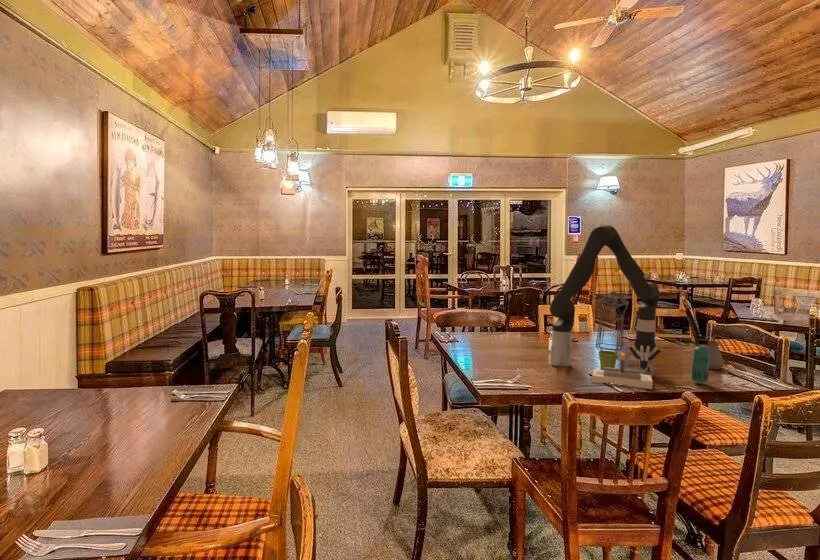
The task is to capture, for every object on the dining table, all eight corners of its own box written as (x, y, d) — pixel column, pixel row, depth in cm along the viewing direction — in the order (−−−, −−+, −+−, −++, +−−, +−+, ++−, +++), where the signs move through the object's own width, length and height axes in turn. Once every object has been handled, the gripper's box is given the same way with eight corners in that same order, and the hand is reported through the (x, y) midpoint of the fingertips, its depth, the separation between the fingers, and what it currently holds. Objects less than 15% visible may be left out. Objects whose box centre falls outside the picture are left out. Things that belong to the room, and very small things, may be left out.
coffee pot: (716, 364, 258) (718, 335, 257) (729, 370, 247) (731, 340, 246) (673, 363, 260) (675, 334, 258) (684, 369, 248) (686, 339, 247)
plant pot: (621, 370, 244) (622, 352, 244) (613, 374, 238) (613, 355, 237) (602, 366, 251) (603, 349, 250) (593, 370, 244) (594, 352, 244)
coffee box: (634, 370, 245) (636, 337, 244) (648, 371, 244) (650, 338, 243) (638, 375, 236) (640, 341, 235) (653, 376, 235) (655, 342, 234)
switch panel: (592, 382, 223) (592, 371, 223) (593, 375, 235) (593, 364, 234) (652, 389, 215) (652, 377, 214) (650, 381, 226) (651, 370, 225)
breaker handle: (618, 375, 222) (619, 355, 221) (618, 372, 227) (619, 352, 227) (625, 376, 221) (626, 355, 220) (625, 373, 226) (626, 353, 226)
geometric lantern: (595, 350, 288) (599, 289, 285) (625, 354, 281) (630, 291, 278) (592, 355, 274) (596, 291, 271) (623, 360, 267) (628, 294, 264)
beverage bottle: (687, 381, 227) (690, 337, 225) (701, 381, 227) (704, 337, 226) (697, 386, 220) (700, 340, 218) (711, 385, 221) (714, 340, 219)
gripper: (629, 329, 218) (627, 369, 220) (663, 332, 213) (661, 372, 215) (628, 326, 225) (626, 365, 227) (661, 329, 220) (659, 368, 222)
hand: (643, 368), depth 221 cm, fingers closed
